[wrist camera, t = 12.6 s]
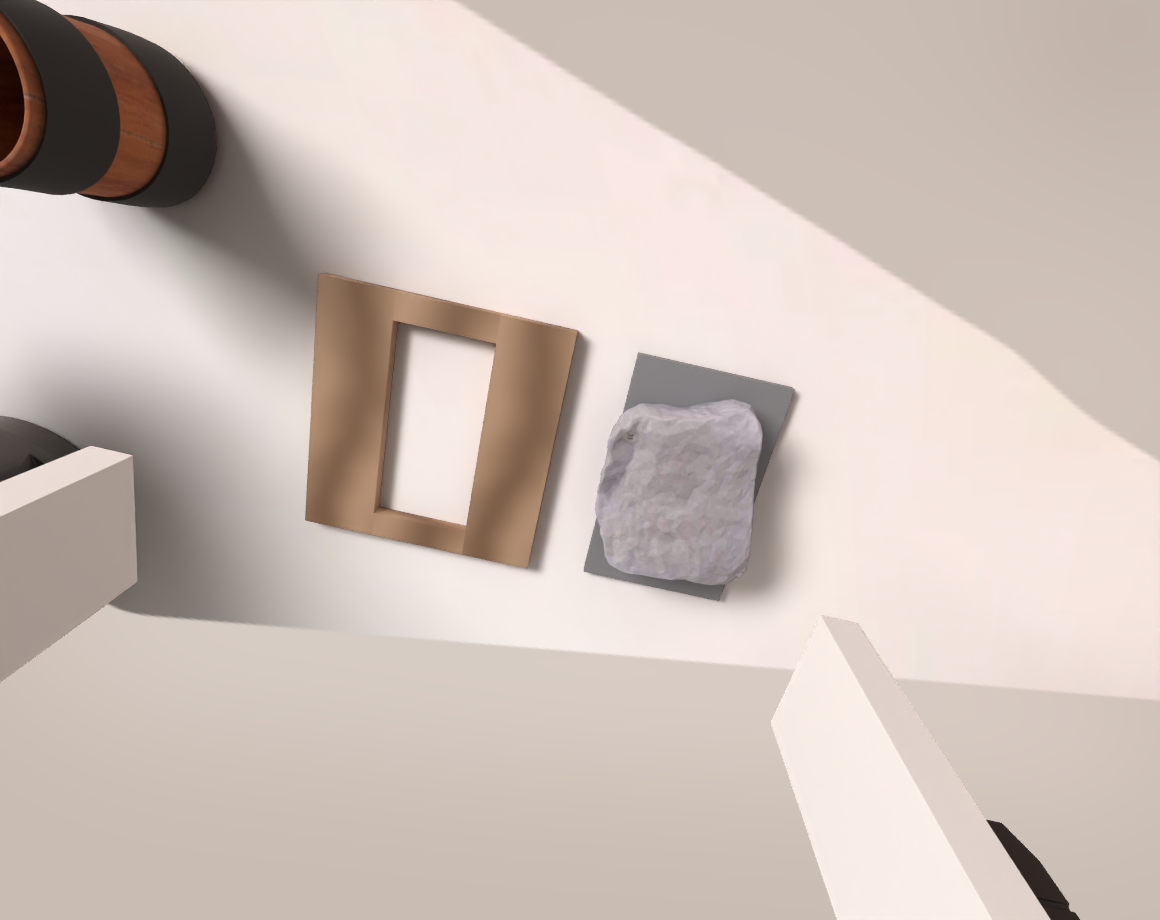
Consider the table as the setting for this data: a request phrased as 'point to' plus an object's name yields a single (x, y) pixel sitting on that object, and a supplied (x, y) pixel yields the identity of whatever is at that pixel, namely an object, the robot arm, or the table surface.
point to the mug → (97, 112)
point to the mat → (684, 389)
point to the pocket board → (361, 407)
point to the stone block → (680, 491)
